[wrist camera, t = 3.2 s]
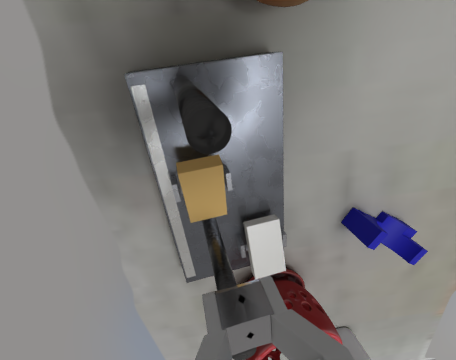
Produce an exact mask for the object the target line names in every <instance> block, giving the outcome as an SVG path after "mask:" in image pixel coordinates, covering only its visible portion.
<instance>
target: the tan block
mask: <svg viewBox="0 0 456 360" xmlns="http://www.w3.org/2000/svg"><path fill="white" fill-rule="evenodd" d="M176 166H177V172H178V177H179V181H180V184H181V186H180V188H181V193H182V194H183V196H184V199H185V203H186V207H187V211H188V214H189V218H190V222H191V223H193V222H197V221H201V220H206V219H210V218H214V217H218V216H222V215H227V205H226V194H225V183H224V172H223V164H222V161H221V159H220V156H219V154H218V155H213V156H208V157H203V158H198V159H193V160H188V161H183V162H178V163H176Z"/></svg>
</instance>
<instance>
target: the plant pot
mask: <svg viewBox="0 0 456 360" xmlns="http://www.w3.org/2000/svg"><path fill="white" fill-rule="evenodd" d="M269 276H271V277H272V279H273V281H274V283H275V285H276V287H277V289H278V291H279V293H280V295H281V297H282V299H283V301H284V303H285V305H286V307H287V309H288V310H289V309H292V310H293V311H295V312H296V313H298V314H299V315H300V316H302V317H303V318H305V319H306V320H308V321H309V322H310V323H312V324H313V325H315V326H316V327H318V328H319V329H320V330H322V331H323V332H325V333H326V334H328V335H329V336H331V337H332V338H333V339H335V340H336V341H338V342H339V343H341V344H342V339H341V337H340V335H339V334H338V332H337V330H336V328H335V327H334V325H333V323H332V322H331V320H330V319H329V317H328V316H327V314H326V313H325V311H324V310H323V308H322V307H321V305H320V304H319V303H318V302H317V300H316V299H315V298H314V297H313V296H312V295H311V294H310V293H309V292H308V291H307V290H306V289H305V285H304V281H303V279H302V278H301V277H300V276H299V275H298V274H297V273H296V272H294V271H292V270H289V269H286V271H283V272H280V273H276V274H273V275H269ZM266 277H267V276H266ZM262 278H263V277H262ZM259 279H260V278H259ZM252 280H255V278H254V276H253V277H252V278H251V279H250V280H248V281H247V282H249V281H252ZM342 345H343V344H342ZM275 348H276V347H275V346H274V345H273V343H269V344H265V345H262V346H259V347H256V352H255V354H254V355H253V356H251V357H250V358H248V359H245V360H268V357H270V358H271V359H272V360H280V354H281V351H280V350H278V349H277V348H276V351H272V350H273V349H275Z"/></svg>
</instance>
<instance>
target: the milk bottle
mask: <svg viewBox="0 0 456 360" xmlns="http://www.w3.org/2000/svg"><path fill="white" fill-rule="evenodd" d="M336 330H337V332H338V334H339V335H340V337H341V339H342V344H343V346H345V347H346V348H347V349H348V350H349V352H350V353H351V355H352V357H353V358H354V360H371V359H370V357H369V356H368V354H367V353H366V351H365V350H364V348H363V347H362V345H361V344H360V342H359V341H358V339H357V338H356V337H355V335H354V334H353V332H352V331H351V330H350V329H349V328H346V327H342V328H338V329H336Z"/></svg>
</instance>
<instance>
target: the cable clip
mask: <svg viewBox="0 0 456 360" xmlns="http://www.w3.org/2000/svg"><path fill="white" fill-rule="evenodd" d="M341 223H342V224H343V225H344V226H346V227H347V228H348V229H349V230H350V231H351V232H352V233H353V234H354V235H355V236H356V237H357V238H358V239H359V240H360V241H361V242H362V243H363V244H364V245H366V246H367V247H368V248H370V249H373V250H375V248H376V247H377V246H378V245H379V244H380V243H382V244H384V245H385V246H387V247H388V248H390V249H391V250H393V251H394V252H395V253H397V254H398V255H399V256H401V257H402V258H403V259H404V260H406V261H407V262H408V263H410V264H412V265H415V264H416V263H417V262H418V261H419V260H420V259H421V258H422V257H423V256H424V255H425V254H426V253H427V252H428V251H427V250H425V249H424V248H423V247H421V246H420V245H419V244H417V243H416V242H415V241H413V240H412V239H411V238H412V237H413V236H414V235H415V233H416V232H417V231H416V230H414V229H413V228H411V227H410V226H408V225H407V224H406V223H404V222H403V221H401V220H399V219H397V218H395V217H393V216H391V215H389V214H387V213H385V212H383V211H382V212H381V213H380V214H379V215H378V217H377V218H374V217H372V216H370V215H368V214H366V213H364V212H362V211H360V210H357V209H355V208H352V209H351V210H350V212H349V213H348V214H347V215H346V217H345V218H344V219H343V220H342V222H341Z"/></svg>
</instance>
